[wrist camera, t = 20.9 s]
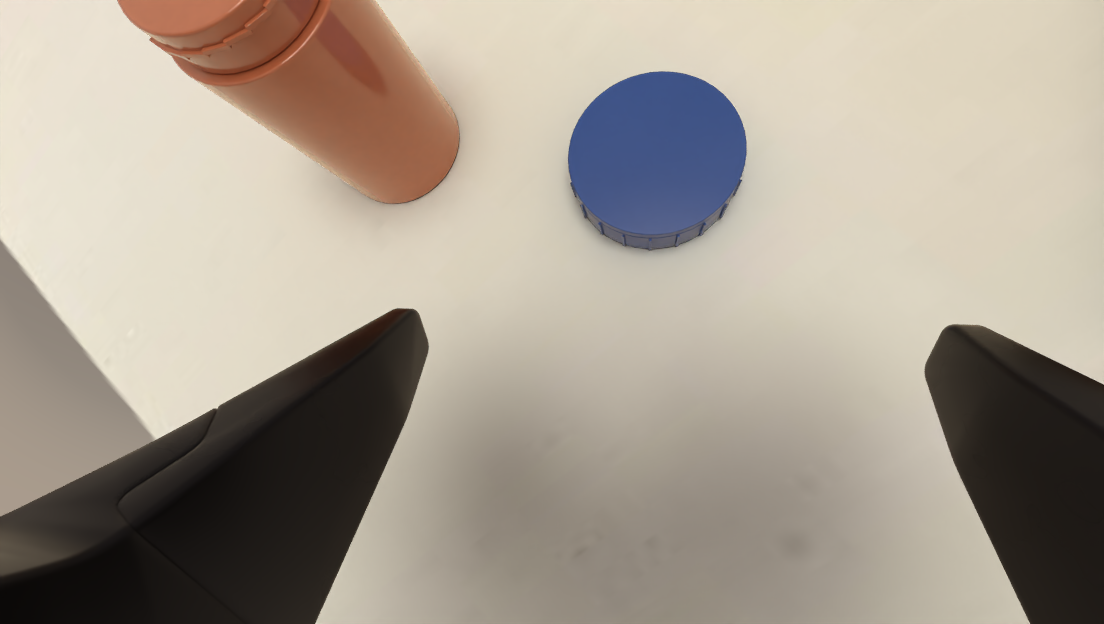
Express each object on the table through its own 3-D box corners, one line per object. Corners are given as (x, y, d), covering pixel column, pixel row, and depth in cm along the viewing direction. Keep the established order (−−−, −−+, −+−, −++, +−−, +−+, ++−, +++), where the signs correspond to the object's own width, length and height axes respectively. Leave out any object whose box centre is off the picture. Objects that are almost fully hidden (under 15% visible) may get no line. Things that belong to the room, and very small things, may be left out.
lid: (692, 71, 20) (697, 40, 18) (768, 205, 19) (782, 186, 17) (550, 143, 21) (541, 120, 19) (612, 276, 19) (608, 265, 17)
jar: (409, 227, 22) (195, 84, 11) (324, 165, 23) (66, -11, 13) (484, 123, 22) (338, -113, 11) (393, 68, 23) (193, -185, 13)
